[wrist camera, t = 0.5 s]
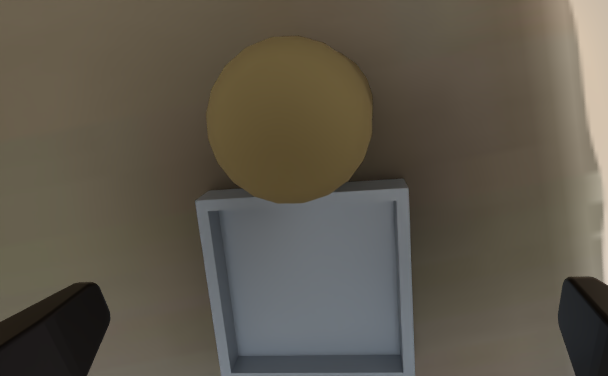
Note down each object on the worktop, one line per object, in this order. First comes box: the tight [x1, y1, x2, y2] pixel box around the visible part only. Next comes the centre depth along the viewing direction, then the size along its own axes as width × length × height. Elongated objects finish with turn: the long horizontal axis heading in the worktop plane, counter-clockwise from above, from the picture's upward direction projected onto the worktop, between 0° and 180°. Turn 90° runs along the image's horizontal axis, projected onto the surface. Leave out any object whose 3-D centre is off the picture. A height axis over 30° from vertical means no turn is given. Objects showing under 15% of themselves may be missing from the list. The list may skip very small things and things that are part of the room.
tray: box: [195, 179, 415, 376], centre depth 24 cm, size 11×11×2 cm
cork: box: [206, 36, 373, 204], centre depth 17 cm, size 6×6×11 cm
